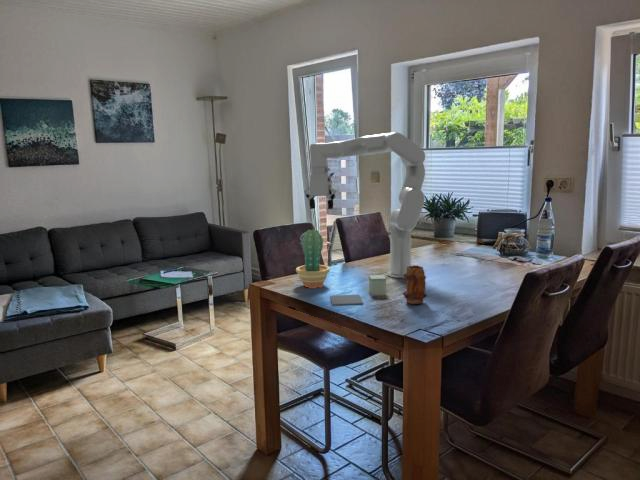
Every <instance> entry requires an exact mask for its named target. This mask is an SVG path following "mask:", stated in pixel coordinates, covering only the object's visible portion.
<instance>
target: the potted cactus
mask: <svg viewBox="0 0 640 480" xmlns="http://www.w3.org/2000/svg"><path fill="white" fill-rule="evenodd" d="M299 241H300V245H302V251H303V253H304V265H300V266H297V267H295V268H296V269H295V271H296V273H297V275H298V277H299V280H300V281H301V282H302V284H303V287H304V286H305V287H309V288H308V289H318V288H317V287H320V288H323V287H324V282H325V281H326V280H327V276H328V274H329V273H330V269H331V267H330V266H328V265H325V264H320V263H321V254H322V251H323V247H324V239H323V236H322V234H320V232H319V231H318V230H317V229H314V228H313V229H307V231H305V232H304V233H302V234H301V235H300V237H299ZM322 286H323V287H322ZM305 287H304V288H305Z"/></svg>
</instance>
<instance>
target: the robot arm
mask: <svg viewBox="0 0 640 480" xmlns="http://www.w3.org/2000/svg"><path fill="white" fill-rule="evenodd" d="M391 152H393V153H394V154H396V155H397V156H398V157H400V160H401V162H402V163H403V165H404V166H405V169H406V170H405V171H406V172H405V177H404V180H403V181H404V182H403V184H402V187H401V189H400V192H399V193H398V201H399V203H400V205H401V206H400V208H396V209H394V210H393V211H392V212H391V213H390V215H389V234H390V243H389V244H390V245H389V246H390V250H389V251H390V252H389V253H390V262H389V263H390V265H389V266H390V269H389V271H387V272H386V275H387V277H391V278H395V279H396V278H397V279H398V278H400V279H405V277H404V274H406V273H407V266H412V265H411V264H412V261H411V260H412V259H411V258H412V256H411V255H412V232H411V231H413V230H414V229H415V227H416V226H417V223H419V222H418V221H419V219H420V217H421V213H422V210H423V208H424V205H425V195H424V192H423V191H422V187H423V185H424V181H425V176H426V168H425V164H424V162H425V160H426V153H425V151H424V150H423V149H422V148H421V147H420V146H419V145H418V144H416V143H415V142H414V141H412V140H410V139H409V138H408V137H407V136H405V135H404V134H402V133H401V132H399V131H393V132H386V133H379V134H372V135H364V136H360V137H356V138H352V139H346V140H340V141H332V142H327V143H325V142H316V143H315V142H313V143H311V144H310V145H309V157H310V175H309V187H308V188H306V189H304V192H303V193H304V195H305V197H306V198H307V199H308V201H309V209H310V210H313V209H315V208H316V203H315V202H316V201H315V197H326V198H327V199H328V200H327V209H328V210H333V209H334V200H335V199H336V196H337V194H338V189H336V188H335V187H333V184H332V183H333V182H332V178H331V174H330V173H329V171H330V172H331V169H330V167H328V159H334V160H335V159H336V160H337V159H340V158H347V157H354V156H355V157H356V156H357V157H359V156H361V157H364V156H371V155H377V154H385V153H391Z"/></svg>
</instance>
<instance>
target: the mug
mask: <svg viewBox="0 0 640 480" xmlns="http://www.w3.org/2000/svg"><path fill="white" fill-rule="evenodd" d="M404 277H405V278H404V279H405V281H406V285H405V286H406V287H405V288H406V291H404V292H403V294H402V295H403V296H404V298H405V300H406V303H408V304H410V305H420V304H424V299H425V298H426V297H427V296H428V295H427V294H426V278H427V276H426V274H425V270H424V267H423V266H420V265H411V266H407V273H406V274H404Z"/></svg>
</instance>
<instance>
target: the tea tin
mask: <svg viewBox="0 0 640 480" xmlns="http://www.w3.org/2000/svg"><path fill="white" fill-rule="evenodd" d="M368 282H369V284H368V290H369V291H368V293H369V294H370V295H371V296H387V278H386V276H385V274H373V275H372V274H369V275H368Z"/></svg>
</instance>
